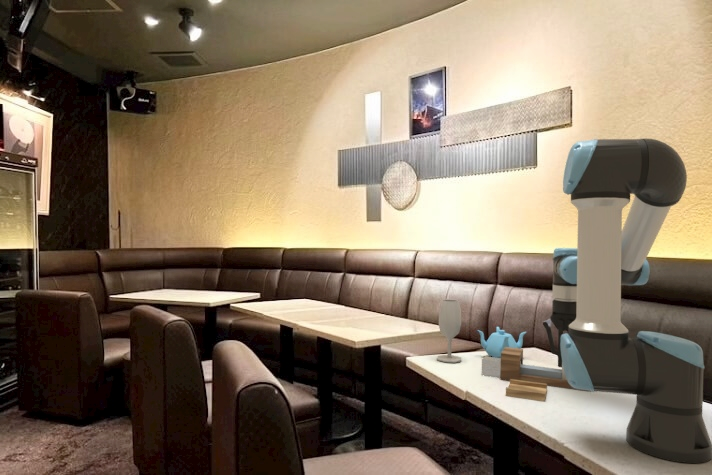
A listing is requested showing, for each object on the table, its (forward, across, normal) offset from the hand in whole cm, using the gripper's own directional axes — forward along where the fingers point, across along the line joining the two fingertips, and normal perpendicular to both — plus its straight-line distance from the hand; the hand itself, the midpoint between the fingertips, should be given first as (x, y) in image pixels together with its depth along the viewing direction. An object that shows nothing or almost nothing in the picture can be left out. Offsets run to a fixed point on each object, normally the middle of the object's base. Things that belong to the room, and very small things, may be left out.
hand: (564, 378), depth 147 cm
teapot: (+2, +22, -23) cm, 31 cm away
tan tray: (+1, +9, +15) cm, 18 cm away
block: (+2, +18, +1) cm, 18 cm away
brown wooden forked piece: (+2, +6, 0) cm, 6 cm away
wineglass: (+2, +38, -10) cm, 39 cm away
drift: (+2, +7, +1) cm, 7 cm away
